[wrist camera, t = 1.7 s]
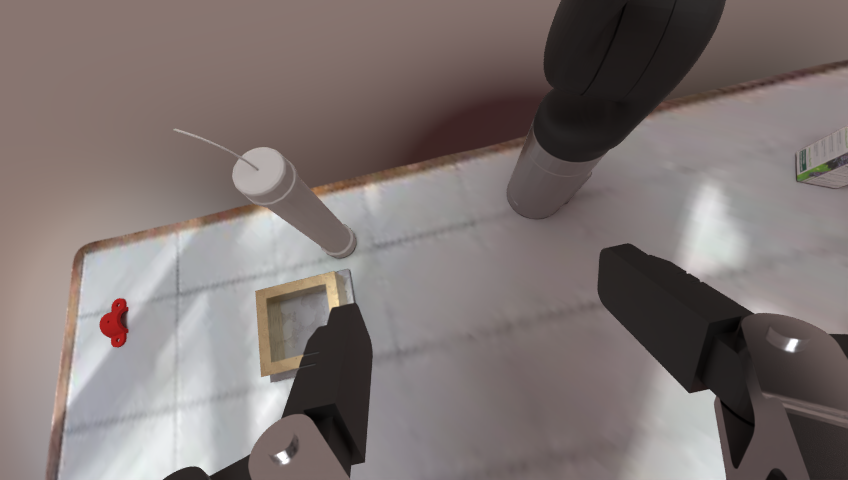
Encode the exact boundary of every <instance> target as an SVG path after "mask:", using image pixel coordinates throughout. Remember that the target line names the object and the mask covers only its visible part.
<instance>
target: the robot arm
mask: <svg viewBox="0 0 848 480" xmlns="http://www.w3.org/2000/svg"><path fill="white" fill-rule="evenodd" d="M725 1H726V0H561V2H560V4H559V7H558V9H557V11H556V14H555V17H554V19H553V22H552V25H551V28H550V31H549V34H548V38H547V42H546V47H545V52H544V73H545V77H546V79H547V81H548V83H549V84H550V85H551V86H552V87H553V88H554V89H552V90H551V91H550V92H549V93H548V94H547V95H546V96H545V97H544V98H543V100H542V102H541V103H540V105H539V107H538V110H537V112H536V115H535V117H534V120H533V123H532V125H531V128H530V130H529V133H528V136H527V138H526V141H525V143H524V146H523V148H522V151H521V154H520V156H519V159H518V161H517V164H516V166H515V169H514V171H513V174H512V176H511V179H510V181H509V184H508V188H507V197H508V201H509V203H510V205H511V206H512V207H513V209H514V210H515V211H516V212H518V213H519V214H521V215H523V216H525V217H528V218H533V219H542V218H546V217H548V216H550V215H552V214H554V213H555V212H556V211H557V210H558V209H559V208H560V207H561V205H563V204H566V203H568V201H569V200H570V199H571V198H572V197H573V196H574V195H575V193H576V192H577V191H578V190H579V189H580V188H581V187H582V185H583V184H584V183H585V182H586V181H587V180H588V179H589V177H590V176H591V174H592V172H591V170H592V169H593V168H594V167H595V166H596V165H597V163H598V162H599V161H600V160H601V158H602V157H603V156H604V155H605V154H606V153H607V151H608V150H610V149H612V148H614V147H615V146H617V145H618V144H620V143H621V142H622V141H623V140H624V139H625V138H626V137H627V136H628V135H629V134H630V133H631V131H632V130H633V129H634V128H635V127H636V126H637V125H638V124H639V123H640V122H641V121H642V120H643V119H644V118H646V117H647V116H648V115H649V114H650V113H651V112H652V111H653V110H654V109H655V108H656V107H657V106H658V105H659V104H660V103H661V102H662V101H663V100H664V99H665V98H666V97H667V96H668V94H670V92H671V91H672V90H673V89H674V88H675V87H676V86H677V85H678V84H679V83H680V81H681V80H682V79H683V78H684V77H685V75H686V74H687V73H688V72H689V71H690V69H691V68H692V67H693V65H694V64H695V63H696V61H697V60H698V58H699V57H700V55H701V54H702V52H703V50H704V49H705V48H706V46H707V44H708V43H709V41H710V39H711V38H712V36H713V34H714V32H715V30H716V28H717V25H718V23H719V20H720V18H721V15H722V12H723V9H724V5H725ZM598 294H599V298H600V300H601V302H602V304H603V305H604V306H605V307H606V309H607V310H608V311H609V312H610V313H611V314H612V315H613V316H614V317H615V318H616V319H617V320H618V321H619V322H620V323H621V324H622V325H623V326H624V327H625V328H626V329H627V330H628V331H629V332H630V333H631V334H632V335H633V336H634V337H635V338H636V339H637V340H638V341H639V342H640V343H641V344H642V345H643V346H644V347H645V348H646V350H647V351H648V352H649V353H650V354H651V355H652V356H653V357H654V358H655V359H656V360H657V361H658V362H659V363H660V364H661V365H662V366H663V367H664V368H665V369H666V370H667V371H668V372H669V373H670V374H671V375H672V376H673V377H674V378H675V379H676V380H677V381H678V382H679V383H680V384H681V385H682V386H683V387H684V388H685V389H686V390H687V391H688V393H693V392H698V391H703V390H707V389H710V390H711V391H712V392H713V393H714V394H715V395H716V398H715V401H714V408H715V414H716V420H717V426H718V431H719V437H720V443H721V449H722V455H723V461H724V467H725V473H726V480H848V335H847V334H827V333H826V332H825V331H823V330H821V329H820V328H818V327H816V326H814V325H812V324H810V323H807V322H805V321H802V320H799V319H796V318H793V317H789V316H784V315H779V314H771V313H758V314H754V313H752V312H751V311H749V310H748V309H746V308H744V307H743V306H741V305H739V304H738V303H736V302H735V301H733V300H731V299H730V298H728V297H727V296H725V295H723V294H722V293H720V292H718V291H717V290H715V289H714V288H712V287H710V286H709V285H707V284H706V283H704V282H700V280H699V279H698V278H696V277H694V276H693V275H691V274H687V273H686V271H685V270H683V269H681V268H680V267H678V266H677V265H675V264H673V263H672V262H670V261H667V260H664V259H661V258H658V257H655V256H653V255H647V254H646V253H644V252H643V251H641V250H640V249H638V248H637V247H635V246H633V245H632V244H628V243H627V244H622V245H618V246H613V247H609V248H604V249H602V250H601V252H600V258H599V273H598ZM372 358H373V353H372V344H371V340H370V336H369V334H368V331H367V328H366V326H365V323H364V320H363V318H362V315H361V312H360V309H359V307H358V305H357V304H356V303H351V304H346V305H342V306H337V307H333V308H332V309H331V311H330V315H329V318H328V322H327V325H325V326H320V327H318V328H317V329H316V330H315V332H314V333H313V334H312V335H311V337H310V338H309V339H308V341H307V344H306V347H305V350H304V353H303V357H302V359H301V362H300V365H299V369H298V371H297V373H296V376H295V379H294V382H293V385H292V388H291V391H290V394H289V397H288V400H287V403H286V406H285V409H284V412H283V415H282V418H281V419H280V420H278V421H277V422H275V423H274V424H273V425H271V426H270V427H269V428H268V429H267V430H266V431H265V432H264V433H263V434H262V435H261V436H260V438H259V439H258V440H257V442H256V444H255V445H254V447H253V449H252V451H251V454H250V455H248V456H246V457H245V458H243V459H241V460H239V461H237V462H235V463H233V464H232V465H230V466H228V467H226V468H224V469H222V470H220V471H218V472H216V473H215V474H213V475H211V476H208V475H207V474H206V473H205V472H204V471H203V470H202V469H201V468H199V467H186V468H183V469H180V470H178V471H176V472H174V473H172V474H170V475H169V476H167V477H166V478H164V479H163V480H350V472H351V465H354V464H359V463H364V462H365V453H366V440H367V426H368V412H369V399H370V385H371V372H372Z"/></svg>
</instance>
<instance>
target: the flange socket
mask: <svg viewBox="0 0 848 480" xmlns="http://www.w3.org/2000/svg"><path fill="white" fill-rule="evenodd" d="M255 292H256V307H257V322H258V336H259V351H260V366H261V377H264V376H268V375H270V379H271V382H275V381H279V380H283V379H287V378H291V377H295V376H296V373H297V371H298V369H299V365H300V362H301V359H302V357H303V353H304V350H305V347H306V344H307V341H308V339H309V338H310V337H311V335H312V334H313V333H314V332H315V330H316V329H317V328H318V327H320V326H325V325H327V322H328V318H329V315H330V311H331V309H332V308H333V307H337V306H342V305H346V304H351V303H355V297H354V291H353V286H352V280H351V274H350V270H349V269H345V270H341V271H337V272H335V271H333V272H329V273H325V274H321V275H317V276H313V277H309V278H305V279H301V280H297V281H293V282H289V283H285V284H281V285H277V286H273V287H269V288H265V289H262V290H258V291H255Z"/></svg>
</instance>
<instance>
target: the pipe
mask: <svg viewBox="0 0 848 480" xmlns="http://www.w3.org/2000/svg"><path fill="white" fill-rule="evenodd" d="M174 131H176V132H180V133H183V134H186V135H189V136H192V137H195V138H198V139H200V140H203V141H205V142H208V143H210V144H212V145H215V146H217V147H219V148H221V149H224V150H225V151H227V152H229V153H231V154H233V155H235V156H236V157H238V158H239V159H238V161H237V163H236V165H235V166H234V168H233V176H232V178H233V181H234V184H235V186H236V188H237V189H238V190H239V191H240V192H241V193H242V194H244V195H245V196H246V197H247V198H248V199H249V200H251V201H252V202H253V203H254V204H256V205H259V206H263V207H267V208H268V209H270V210H271V211H273V212H274V213H275V214H277V215H278V216H280V217H281V218H282V219H284V220H285V221H287V222H288V223H289V224H291V225H292V226H293V227H295V228H296V229H298V230H299V231H300V232H302V233H303V234H305V235H306V236H307V237H309V238H310V239H312V240H313V241H314V242H316V243H317V244H319V245H320V246H321V248H322V250H323V251H324V252H326V253H327V254H328V255H331V256H333V257H336V258H343V257H346V256H348V255H350V254H351V252H352V251H353V250H354V248H355V246H356V238H355V235H354V233H353V232H352V230H351V229H350V228H349V227H348V226H347V225H345V224H342V223H341V222H340V221H339V220H338V219H337V218H336V216H335V215H334V214H333V213H332V212H331V211H330V210H329V209H328V208H327V207H326V206H325V205H324V204H323V203H322V201H321V200H320V199H319V198H318V197H317V196H316V195H315V194H314V193H313V192H312V191H311V190H310V189H309V188H308V186H307V185H306V184H305V183H304V182H303V181H302V180H301V179H300V178H299V177H298V173H297V171H296V169H295V167H294V165H293V164H292V163H290V162H289V161H288V160H287V159H285V158H284V157H283V155H281V154H280V153H279V152H278V151H276V150H274V149H270V148H267V147H261V148H255V149H253V150H251V151H248V152H246V153H245V154H244V155H243V156H242V157H241V156H239V155H237V154H236V153H234V152H232V151H230V150H228V149H226V148H224V147H222V146H220V145H218V144H216V143H213V142H211V141H209V140H207V139H204V138H201V137H199V136H196V135H193V134H191V133H187V132H185V131H181V130H178V129H174Z"/></svg>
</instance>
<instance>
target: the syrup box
mask: <svg viewBox="0 0 848 480" xmlns="http://www.w3.org/2000/svg"><path fill="white" fill-rule="evenodd" d="M796 156H797V181H799V182H804V183H809V184H814V185H820V186H826V187H831V188H840V187H842V186H845V185H848V126H846V127H844V128H842V129H840V130H838V131H836V132H834V133H833V134H831V135H829V136H827V137H825V138H823V139H821V140H819V141H817V142H815V143H813V144H811V145H809V146H807V147H805V148H804V149H802V150H800V151H798V152H797V153H796Z"/></svg>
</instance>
